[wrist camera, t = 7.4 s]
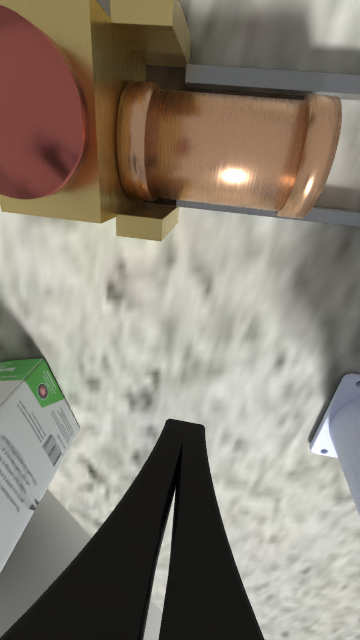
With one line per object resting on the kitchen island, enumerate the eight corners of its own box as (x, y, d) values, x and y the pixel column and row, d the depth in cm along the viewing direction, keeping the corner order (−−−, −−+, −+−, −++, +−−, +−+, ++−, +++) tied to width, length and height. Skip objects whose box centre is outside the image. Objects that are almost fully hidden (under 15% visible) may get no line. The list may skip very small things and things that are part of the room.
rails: (452, 88, 12) (469, 82, 11) (390, 227, 14) (400, 231, 14) (189, 70, 13) (186, 63, 12) (179, 203, 15) (176, 206, 15)
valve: (191, 40, 12) (147, -107, 6) (177, 222, 16) (141, 263, 9) (-2, 29, 13) (-240, -110, 6) (28, 205, 17) (-102, 231, 10)
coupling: (325, 96, 12) (358, 95, 9) (293, 202, 15) (309, 234, 11) (144, 82, 13) (109, 76, 9) (145, 186, 16) (119, 211, 12)
